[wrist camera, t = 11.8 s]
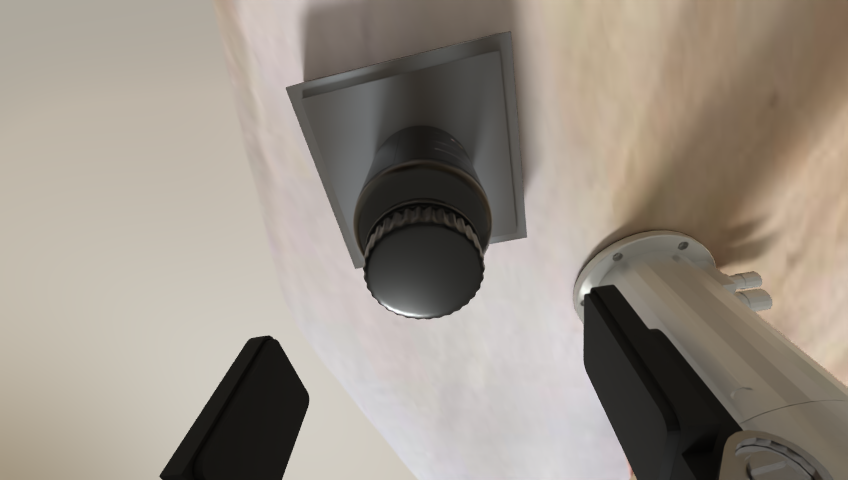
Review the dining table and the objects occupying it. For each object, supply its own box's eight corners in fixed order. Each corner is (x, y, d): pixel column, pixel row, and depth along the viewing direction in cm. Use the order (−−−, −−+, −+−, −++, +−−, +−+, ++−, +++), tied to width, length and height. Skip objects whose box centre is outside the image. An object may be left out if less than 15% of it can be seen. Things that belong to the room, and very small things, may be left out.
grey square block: (499, 33, 23) (512, 31, 19) (516, 217, 30) (528, 239, 26) (303, 82, 24) (283, 88, 21) (362, 246, 31) (354, 271, 28)
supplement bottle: (425, 234, 26) (425, 362, 16) (353, 176, 24) (296, 279, 13) (492, 171, 23) (546, 272, 13) (419, 98, 21) (414, 151, 11)
